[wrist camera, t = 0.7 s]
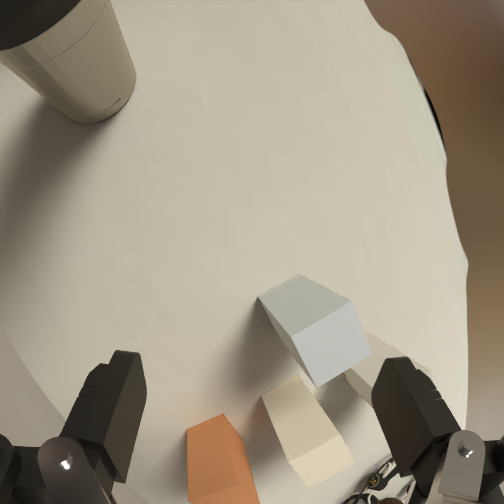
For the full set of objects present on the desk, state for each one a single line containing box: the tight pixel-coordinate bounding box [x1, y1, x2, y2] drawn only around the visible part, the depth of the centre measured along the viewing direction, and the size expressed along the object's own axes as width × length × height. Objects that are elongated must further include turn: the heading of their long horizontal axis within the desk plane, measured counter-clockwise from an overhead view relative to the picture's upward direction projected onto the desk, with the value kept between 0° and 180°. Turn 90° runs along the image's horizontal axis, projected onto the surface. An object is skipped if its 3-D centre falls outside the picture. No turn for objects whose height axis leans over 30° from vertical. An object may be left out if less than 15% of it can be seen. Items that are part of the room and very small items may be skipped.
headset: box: [345, 457, 411, 504], centre depth 37 cm, size 17×8×20 cm
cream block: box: [261, 375, 355, 487], centre depth 29 cm, size 5×5×12 cm
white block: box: [258, 274, 372, 388], centre depth 27 cm, size 5×5×12 cm
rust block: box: [187, 414, 260, 504], centre depth 27 cm, size 5×5×12 cm
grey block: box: [344, 332, 433, 409], centre depth 30 cm, size 5×5×12 cm
